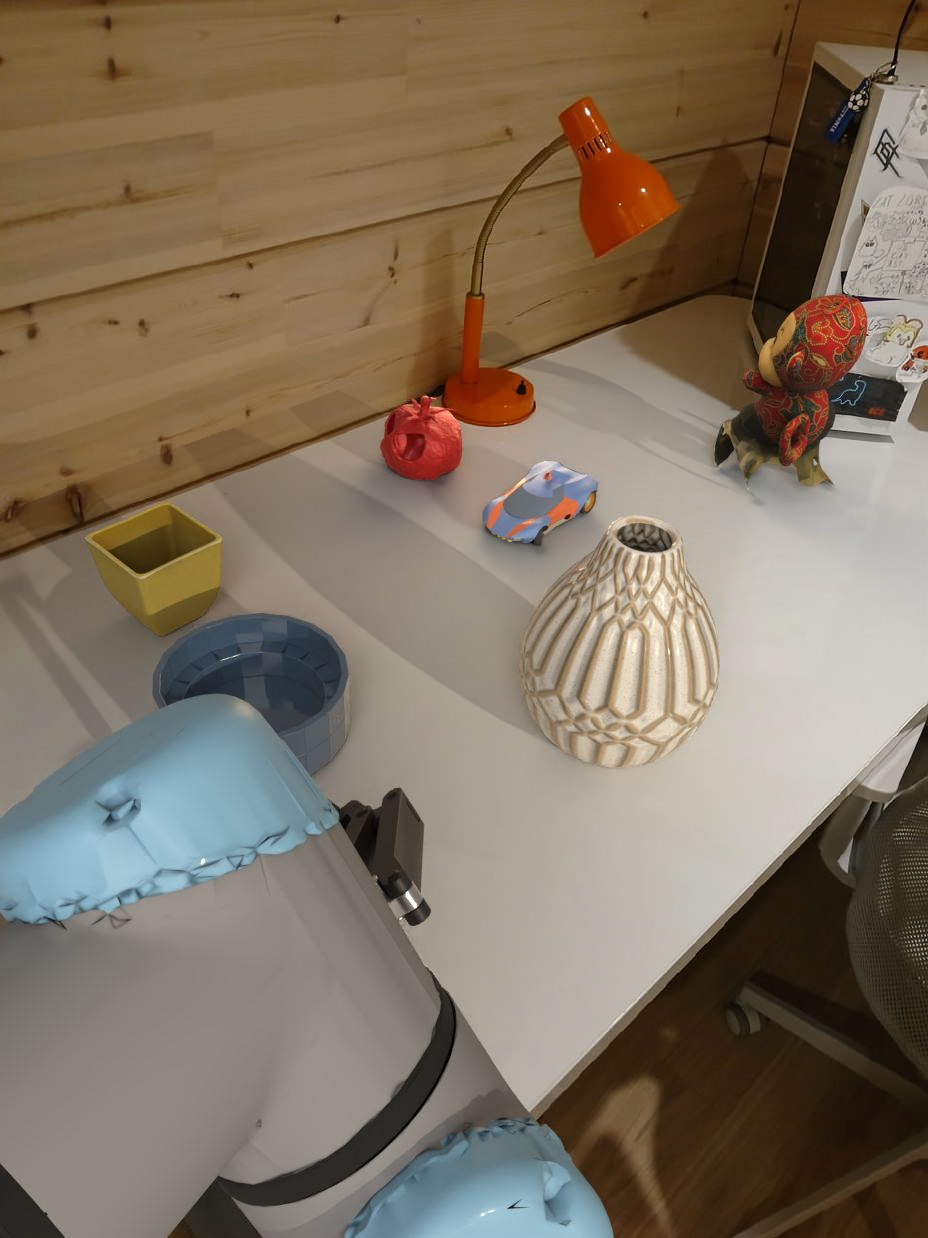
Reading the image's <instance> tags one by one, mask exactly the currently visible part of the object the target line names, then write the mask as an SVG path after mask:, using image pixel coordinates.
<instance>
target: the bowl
mask: <svg viewBox="0 0 928 1238" xmlns="http://www.w3.org/2000/svg"><path fill="white" fill-rule="evenodd" d="M347 659H348V658H347V655H346V652H345V651H344V649H343V648H342V647H341V646H340V644H339V642H338V641H336V639H335V637H333V635H331V634H329V632H327V631H325V630H324V629H323V628H321V627H319V626H318V625H316V624H314V623H312V622H309V621H306V620H302V619H300V618H296V617H294V616H291V615H287V614H276V613H265V612H257V613H248V614H247V613H245V614H236V615H230V616H226V617H223V618H220V619H216V620H213V621H209V622H206V623H204V624H202V625H200V626H198V627H197V628H195V629H193V630H191V631H189V632H187V633H186V634H184V635H182V636H181V637H179V638H178V639H177V640H176V641H175V642H174V643H173V644H172V645H171V646H170V647H168V648H167V650H165V652H164V653H162V655H161V657H160V659H159V660H158V663H157V665H156V667H155V669H154V671H153V673H152V686H151V687H152V689H151V693H152V694H151V695H152V701H153V705H154V706H153V707H154V710H155V711H157V710H159V709H161V708H163V707H165V706H168V705H170V704H173V703H175V702H178V701H181V700H184V699H187V698H191V697H196V696H200V695H208V694H226V695H230V696H234V697H237V698H239V699H241V700H243V701H245V702H247V703H249V704H250V705H251V706H253V707H254V708H255V709H256V710H257V711H259V712H260V713H261V715H262V716H263V717H264V718H265V720H266V721H267V722H268V723H269V725H270V726H271V727H272V728H273V730H274V731H275V732H276V734H277V735H278V736H279V737H280V739H282V740H283V741H284V742H285V743H286V744H287V746H288V747H289V748H290V750H291V751H292V752H293V754H294V755H295V756H296V757H297V759H298V760H299V761H300V763H301V764H302V765H303V767H304V768H305V769H306V771H307V772H308V773H309V775H310V776H312V775H313V774H314V773H316V772H317V771H319V770H320V769H322V768H323V767H324V766H325V765H327V764H328V763H330V761H332V760H333V759H334V757H335V755H337V753H338V751H339V750H340V749H341V748H342V746H343V745H344V743H345V742H346V739H347V735H348V732H349V727H350V724H351V686H350V685H351V684H350V670H349V664H348V660H347Z"/></svg>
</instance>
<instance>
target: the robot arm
mask: <svg viewBox="0 0 928 1238" xmlns="http://www.w3.org/2000/svg"><path fill="white" fill-rule="evenodd" d="M424 838H425V822H424V821H423V819H422V818H421V817H420V814H419V813H418V811H417V810H416V809H415V807H414V806H413V803H411V801H410V799H409V797H408V796H407V795H406V793H405V792H404V790H403V789H402V787H400V786H398V787H393V789H391V790H388V792H387V793H386V794H384V796H383V797H382V800H381V805H380V806H379V807H376V808H373V807H372V806H371V805H369V804H368V805H365V804H363V803H362V802H360V800H357V799H352V800H349V801H348V802H347V803H346V804H344V805H343V806H341V807H340V806H338V805H337V804H335V802H333V801H332V800H330V799H329V798H328V797H327V796H326V795H325V793H324V792H323V791H322V790H321V788H320V787H319V785H318V784H317V782H315V780H314V778H312V775H309V773H308V772H307V771H306V769H305V768H304V767H303V765H302V764H301V763H300V761H299V760H298V759H297V757H296V756H295V755H294V754H293V752H292V751H291V750H290V748H289V747H288V746H287V744H286V743H285V742H284V741H283V740H282V739H280V737H279V736H278V735H277V734H276V732H275V731H274V730H273V728H272V727H271V726H270V725H269V723H268V722H267V721H266V720H265V718H264V717H263V716H262V715H261V713H260V712H259V711H257V710H256V709H255V708H254V707H253V706H251V705H250V704H249V703H247V702H245V701H243V700H241V699H239V698H237V697H234V696H230V695H226V694H208V695H200V696H196V697H191V698H187V699H184V700H181V701H178V702H175V703H173V704H170V705H168V706H165V707H163V708H161V709H159V710H157V711H152V712H150V713H148V714H146V715H144V716H141V718H139V719H137V720H135V721H133V722H131V723H129V724H127V725H125V726H123V727H122V728H120V729H118V730H116V731H115V732H113V733H112V734H110V735H108V736H106V737H105V738H103V739H101V740H100V741H98V742H97V743H95V744H93V745H92V746H90V747H89V748H87V749H86V750H84V751H83V752H81V753H80V754H78V755H77V756H75V757H73V758H72V759H71V760H69V761H68V762H66V763H65V764H63V765H62V766H61V767H59V768H58V769H56V770H55V771H53V772H52V773H51V774H50V775H48V776H47V777H46V778H44V779H43V780H42V781H41V782H39V783H38V784H37V785H35V787H34V788H33V789H32V792H31V793H30V794H29V795H28V796H26V797H25V798H24V799H22V800H21V801H19V802H18V803H16V804H15V805H14V806H13V807H11V808H10V809H8V810H7V812H5V813H4V814H3V815H2V816H1V817H0V914H1V915H2V917H3V918H4V919H5V920H6V921H7V924H6V926H5V928H4V929H3V930H1V931H0V1238H168V1237H169V1236H170V1235H171V1234H172V1233H173V1231H174V1230H175V1229H176V1227H178V1225H179V1223H180V1222H181V1221H182V1220H183V1219H184V1218H185V1216H186V1215H187V1214H188V1213H189V1211H190V1210H191V1209H192V1208H193V1206H194V1205H195V1204H196V1203H197V1202H198V1201H199V1199H200V1198H201V1197H202V1196H203V1194H204V1193H205V1192H206V1191H207V1189H208V1188H209V1187H210V1186H211V1185H212V1184H213V1182H214V1181H216V1182H217V1184H218V1185H219V1187H220V1188H221V1190H222V1191H223V1192H224V1193H225V1194H227V1195H228V1196H229V1197H231V1198H232V1200H233V1201H234V1203H235V1204H237V1206H238V1208H239V1209H240V1210H241V1211H242V1213H243V1214H244V1215H245V1217H246V1218H247V1219H248V1221H249V1222H250V1223H251V1224H252V1226H253V1227H254V1228H255V1229H256V1231H257V1232H258V1233H259V1235H260V1237H262V1238H615V1237H614V1231H613V1228H612V1224H611V1220H610V1217H609V1215H608V1213H607V1210H606V1208H605V1206H604V1204H603V1202H602V1200H601V1198H600V1196H599V1195H598V1193H597V1192H596V1190H595V1189H594V1188H593V1187H592V1185H591V1184H590V1183H589V1182H588V1180H587V1179H586V1177H584V1175H583V1174H582V1173H581V1171H580V1170H579V1169H578V1167H577V1166H576V1165H575V1164H574V1162H573V1159H572V1156H571V1155H570V1153H569V1152H567V1151H566V1150H565V1147H564V1144H563V1142H562V1140H561V1137H560V1136H559V1135H558V1134H556V1132H554V1130H553V1129H552V1128H551V1127H550V1126H549V1125H548V1124H547V1123H543V1124H541V1123H539V1122H538V1121H537V1119H536V1118H534V1117H533V1115H532V1113H530V1112H529V1110H528V1109H527V1108H526V1107H525V1105H524V1104H523V1103H522V1102H521V1100H520V1099H519V1098H518V1097H517V1095H516V1094H515V1092H514V1091H513V1089H512V1088H511V1087H510V1085H509V1083H507V1081H506V1080H505V1078H504V1076H503V1075H502V1073H501V1072H500V1071H499V1068H498V1067H497V1066H496V1064H495V1062H494V1061H493V1059H492V1058H491V1057H490V1055H489V1053H488V1052H487V1050H486V1048H485V1047H484V1045H483V1043H482V1042H481V1040H480V1039H479V1038H478V1036H477V1034H476V1033H475V1031H474V1030H473V1028H472V1027H471V1025H470V1024H469V1022H468V1020H467V1019H466V1018H465V1016H464V1014H463V1012H462V1011H461V1009H460V1007H458V1005H457V1003H456V1001H455V1000H454V998H453V997H452V995H451V994H450V992H449V991H448V990H447V989H445V988H444V987H443V986H442V984H441V983H440V981H439V980H438V978H437V977H436V975H435V974H434V972H433V971H432V970H430V968H429V967H427V966H426V965H425V964H424V962H423V960H422V959H421V957H420V955H419V953H418V952H417V950H416V948H415V947H414V945H413V943H412V942H411V939H410V938H409V937H408V935H407V933H406V931H405V930H404V928H403V926H402V925H401V923H400V922H401V921H402V920H405V921H406V922H407V924H408V925H409V926H410V927H416V926H418V925H421V924H422V923H424V922H425V921H426V920H427V919H428V918H429V916H430V915H431V913H432V909H431V906H430V905H429V904H428V902H427V901H426V899H425V898H424V895H423V894H422V878H423V860H424V859H423V858H424Z"/></svg>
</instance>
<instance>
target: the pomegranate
mask: <svg viewBox="0 0 928 1238" xmlns="http://www.w3.org/2000/svg"><path fill="white" fill-rule="evenodd" d="M436 399H437V397H431V396H430V397H429V396H427V395H425V394H423V395H422V396H421V397H420V399H419V401H420V402H419V403H420V404H419V403H418V402H417V400H416V399H415V398H406V400H407V401H411V403H412V404H410V403H409V404H403V405H400V406H394V407H393V411H391V413H390V414H389V415H388V417H387V419H386V420H385V422H384V433H383V439H382V440H381V441H380V445H379V448H380V451H381V455H382V457H383V459H384V462H385V463H386V465H387V466H388V467H389V468H390V469H391V470H392V471H394V472H395V473H397V474H398V475H400V476H401V477H404V478H406V479H409V480H418V481H435V480H437V479H438V478H440V477H441V476H442V475H446V474H449V473H451V472H453V471H454V470H456V468H458V466H459V465H460V464H461V460H462V457H463V436H462V429H461V426H460V425H461V424H460V423H459V422H458V420H457V419H456V418H455V417H454V416H453V413H451V412H456V411H459V408H457V409H453V408H449V407H448V408H444V407H441V406H431V405H432V403H433V400H436Z"/></svg>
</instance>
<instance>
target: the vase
mask: <svg viewBox="0 0 928 1238" xmlns="http://www.w3.org/2000/svg"><path fill="white" fill-rule="evenodd" d="M685 555H686V554H685V547H684V541H683V537H682V535H681V533H680V532H679V530H678V529H677V528H676V527H674V526H673V525H672V524H671V523H669V522H667V521H665V520H664V519H663V520H662V519H661V518H658V517H655V516H649V515H643V514H642V515H641V514H633V515H631V514H630V515H627V516H626V515H625V516H622V517H619V518H617V519H615V520H614V521H613V522H611V523H610V525H609V526H608V527H607V529H606V531H605V532H604V533H603V536H602V537H601V539H600V541H599V542H598V543H597V545H596V547H595V548H594V549H593V550H592V551H591V552H589V553H588V554H586V555H585V556H584V557H582V558H581V559H579V560H578V561H576V562H575V563H574V564H573V565H572V566H570V567H569V568H568V569H567V570H566V571H564V573H562V574H561V575H560V576H559V577H558V578H557V579H556V580H555V581H554V582H553V583H552V584H551V585H550V586H549V588H548V589H547V590H546V592H545V593H544V595H543V596H542V597H541V599H540V601H539V602H538V604H537V606H536V607H535V609H534V611H533V613H532V615H531V617H530V618H529V620H528V622H527V625H526V627H525V630H524V633H523V636H522V639H521V642H520V643H521V644H520V649H519V660H518V661H519V663H518V665H519V667H518V668H519V681H520V687H521V692H522V695H523V698H524V702H525V705H526V706H527V709H528V710H529V713H530V715H531V717H532V718H533V719H532V720H533V721H534V722H535V724H536V725H537V727H538V728H539V729H540V730H541V732H542V734H543V735H544V736H545V737H546V738H547V739H548V740H549V741H550V742H551V743H552V744H554V745H555V746H556V747H557V748H558V749H561V751H563V752H565V753H566V754H568V755H570V756H571V757H574V758H575V759H577V760H579V761H581V762H585V763H588V764H591V765H595V766H599V767H604V768H613V769H614V768H615V769H624V768H633V767H640V766H646V765H648V764H652V763H654V762H657V761H659V760H662V759H663V758H665V757H667V756H669V755H670V754H672V753H673V752H675V751H677V750H678V749H679V748H680V747H681V746H682V745H684V744H685V743H686V742H688V740H689V739H690V738H691V737H692V736H693V735H694V734H695V733H696V732H697V731H698V729H699V728H700V727H701V725H702V724H703V722H704V721H705V719H706V717H707V715H708V714H709V711H710V710H711V708H712V706H713V703H714V700H715V697H716V695H717V692H718V688H719V681H720V674H721V655H720V643H719V637H718V632H717V627H716V622H715V620H714V617H713V614H712V612H711V609H710V606H709V605H708V602H707V599H706V598H705V596H704V594H703V592H702V590H701V588H700V586H699V584H698V583H697V581H696V580H695V578H694V577H693V575H692V574H691V573H690V570H689V569H688V566H687V565H688V564H687V562H686V556H685Z"/></svg>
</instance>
